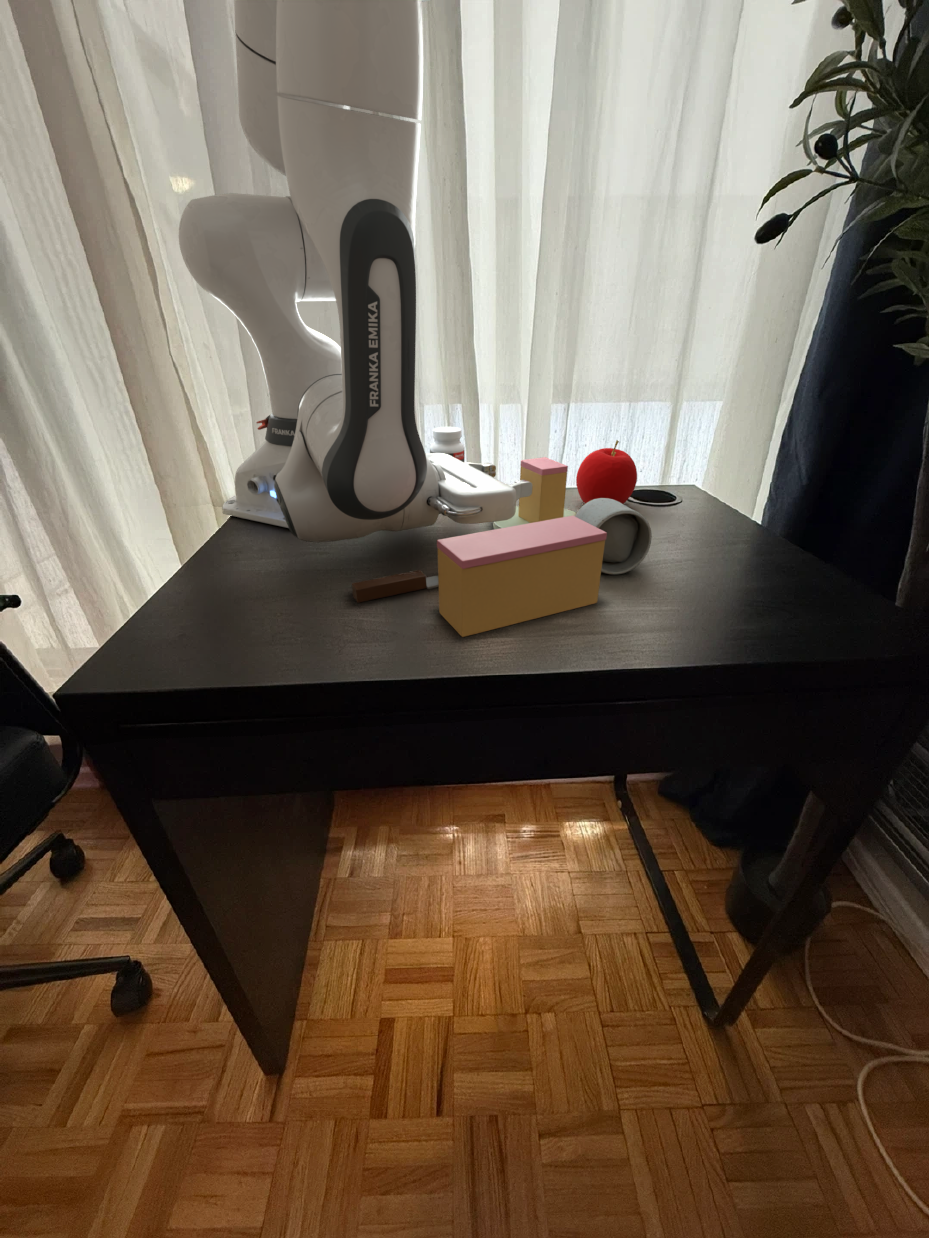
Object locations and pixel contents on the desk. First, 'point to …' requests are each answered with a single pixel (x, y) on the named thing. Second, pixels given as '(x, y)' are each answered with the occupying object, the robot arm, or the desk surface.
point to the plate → (520, 521)
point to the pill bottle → (448, 442)
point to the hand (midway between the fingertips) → (510, 478)
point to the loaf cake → (518, 573)
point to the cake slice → (543, 489)
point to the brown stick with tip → (392, 585)
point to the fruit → (606, 475)
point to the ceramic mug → (618, 533)
